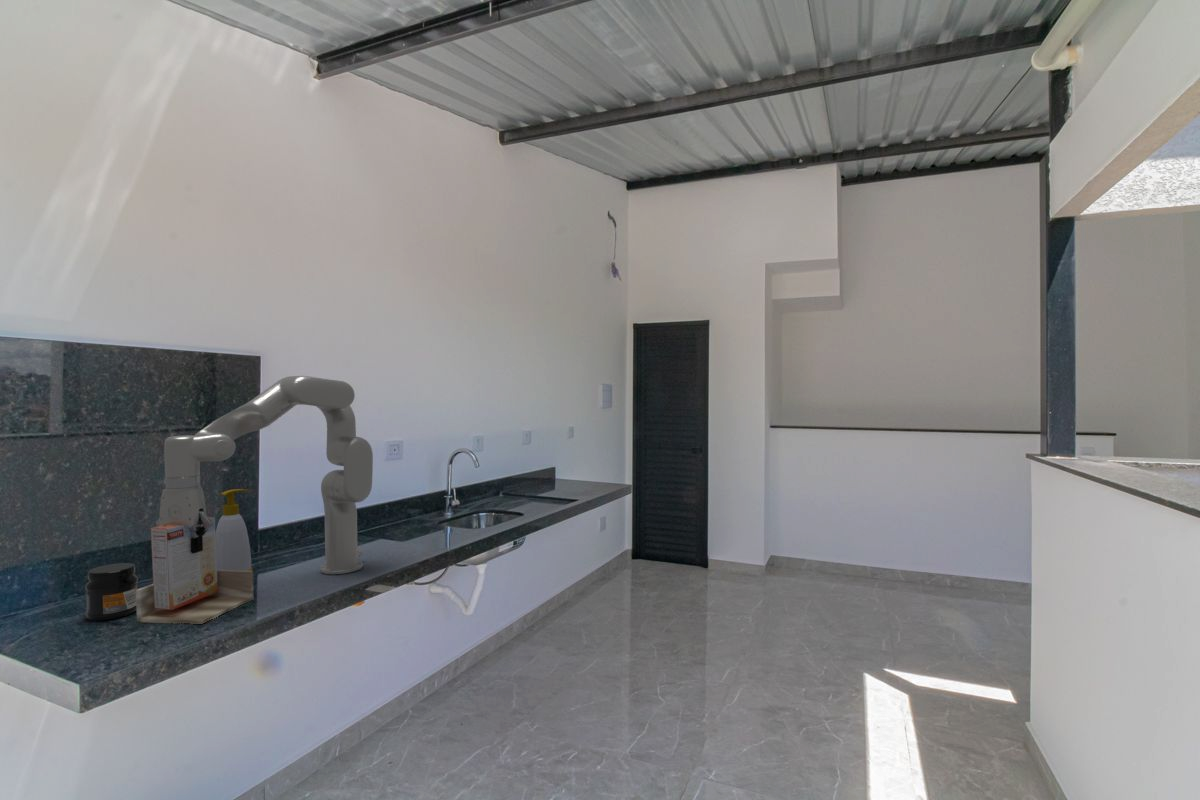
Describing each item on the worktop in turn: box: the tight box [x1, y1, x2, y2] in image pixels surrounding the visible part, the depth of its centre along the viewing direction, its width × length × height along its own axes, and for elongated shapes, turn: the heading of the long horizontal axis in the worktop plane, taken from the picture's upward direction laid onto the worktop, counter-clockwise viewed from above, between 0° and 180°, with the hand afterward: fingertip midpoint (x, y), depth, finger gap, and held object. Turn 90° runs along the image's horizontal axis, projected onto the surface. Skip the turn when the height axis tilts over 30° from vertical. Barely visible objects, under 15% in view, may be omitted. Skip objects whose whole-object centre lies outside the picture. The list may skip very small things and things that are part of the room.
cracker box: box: [150, 516, 218, 610], centre depth 161 cm, size 14×6×21 cm, turn 164°
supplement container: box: [85, 562, 139, 622], centre depth 158 cm, size 10×10×12 cm
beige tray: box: [136, 570, 254, 625], centre depth 161 cm, size 18×18×8 cm
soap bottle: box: [215, 488, 254, 571], centre depth 193 cm, size 11×12×26 cm
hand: (185, 551), depth 161 cm, fingers closed on cracker box, 6 cm apart
